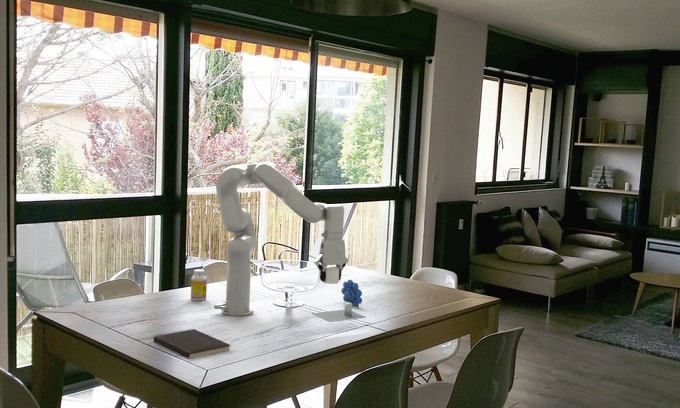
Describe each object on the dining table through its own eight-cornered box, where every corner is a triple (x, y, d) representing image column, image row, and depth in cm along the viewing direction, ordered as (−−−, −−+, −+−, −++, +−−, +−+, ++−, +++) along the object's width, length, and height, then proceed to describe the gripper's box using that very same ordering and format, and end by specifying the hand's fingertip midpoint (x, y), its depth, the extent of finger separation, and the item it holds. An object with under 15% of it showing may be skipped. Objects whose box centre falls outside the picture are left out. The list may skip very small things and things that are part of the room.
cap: (327, 284, 266) (328, 269, 266) (319, 280, 272) (320, 266, 271) (341, 283, 270) (342, 268, 269) (332, 279, 275) (333, 265, 275)
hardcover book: (194, 335, 245) (194, 328, 244) (230, 351, 228) (230, 344, 228) (153, 342, 234) (153, 336, 233) (188, 360, 217) (188, 353, 217)
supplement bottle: (204, 301, 293) (205, 272, 292) (189, 300, 293) (189, 271, 292) (207, 297, 299) (208, 269, 298) (192, 297, 300) (193, 268, 298)
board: (329, 325, 264) (329, 310, 263) (310, 317, 276) (311, 302, 275) (366, 320, 274) (367, 306, 273) (347, 312, 286) (347, 298, 285)
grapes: (334, 306, 296) (335, 279, 295) (344, 303, 301) (346, 277, 300) (354, 311, 288) (355, 283, 287) (364, 309, 293) (366, 281, 292)
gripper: (319, 237, 261) (316, 283, 263) (356, 236, 271) (353, 280, 273) (309, 234, 267) (306, 279, 269) (345, 233, 277) (343, 277, 279)
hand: (330, 279), depth 271 cm, fingers closed on cap, 6 cm apart
